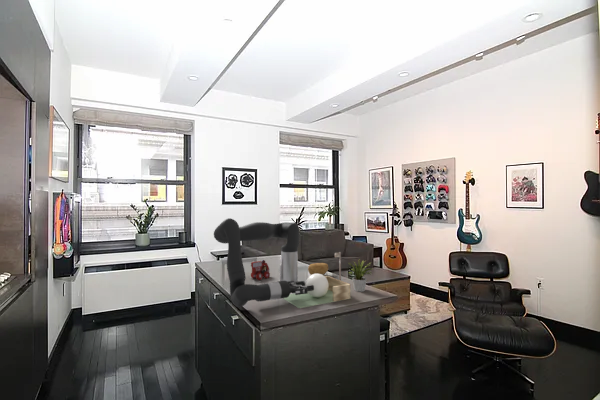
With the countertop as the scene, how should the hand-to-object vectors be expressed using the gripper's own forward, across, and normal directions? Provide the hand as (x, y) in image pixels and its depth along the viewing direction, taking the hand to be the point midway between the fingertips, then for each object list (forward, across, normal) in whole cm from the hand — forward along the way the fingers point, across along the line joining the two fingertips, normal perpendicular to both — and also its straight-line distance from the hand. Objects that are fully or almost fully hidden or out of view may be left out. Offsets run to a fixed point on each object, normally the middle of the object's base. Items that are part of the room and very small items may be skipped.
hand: (308, 285), depth 149 cm
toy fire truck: (-5, +48, +7) cm, 48 cm away
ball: (+4, 0, 0) cm, 4 cm away
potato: (+28, +35, +7) cm, 45 cm away
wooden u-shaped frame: (+13, 0, +6) cm, 14 cm away
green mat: (+3, 0, +6) cm, 7 cm away
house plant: (+28, -1, +7) cm, 29 cm away
